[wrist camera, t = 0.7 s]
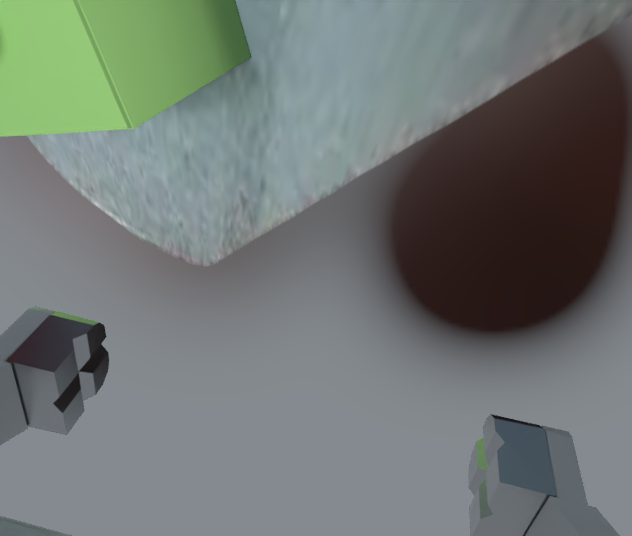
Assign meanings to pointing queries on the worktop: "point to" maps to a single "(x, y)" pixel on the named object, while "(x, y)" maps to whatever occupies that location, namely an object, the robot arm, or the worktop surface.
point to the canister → (109, 60)
